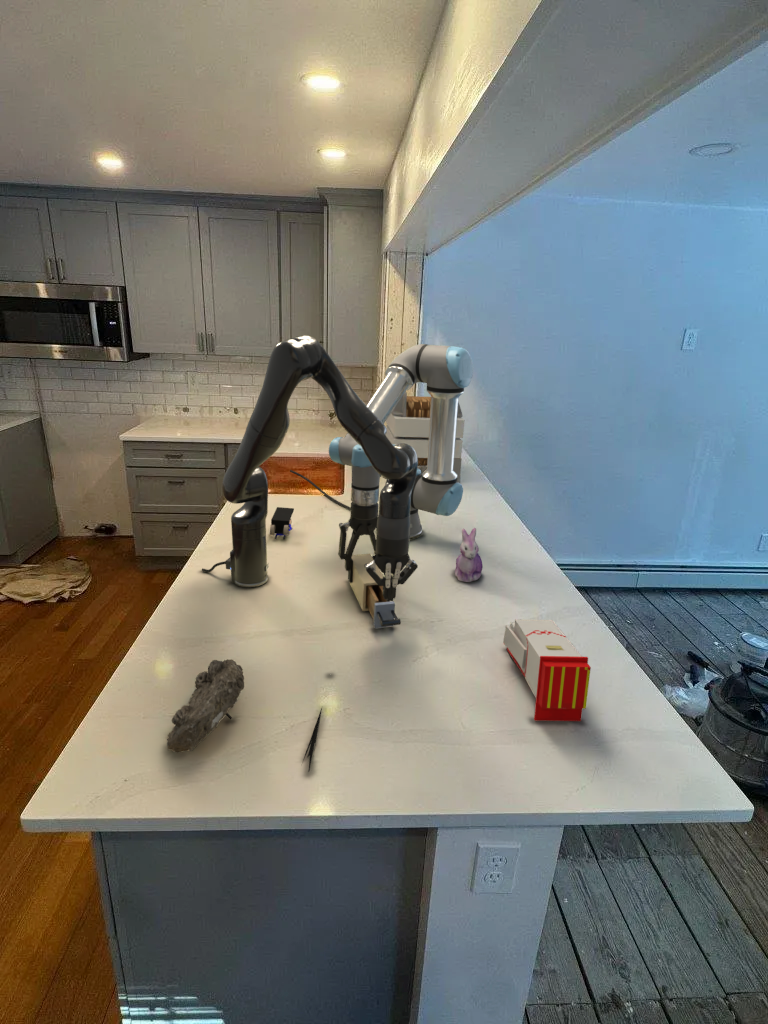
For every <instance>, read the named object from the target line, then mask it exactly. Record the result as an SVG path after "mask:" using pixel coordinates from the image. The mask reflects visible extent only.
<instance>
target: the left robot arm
mask: <svg viewBox="0 0 768 1024" xmlns="http://www.w3.org/2000/svg"><path fill="white" fill-rule="evenodd" d="M309 379H312V380H314V381H315V382H316V383H317V385H319V386H320V387H321V388H322V389H323V390H324V391H325V393H326V394H327V396H328V398H329V400H330V403H331V405H332V408H333V411H334V414H335V416H336V419H337V421H338V423H339V424H340V425H341V427H342V428H343V429H344V430H345V432H346V433H348V434H349V435H350V436H351V437H352V438H353V439H354V440H355V441H356V442H357V443H358V444H359V445H360V446H361V447H362V449H363V451H364V453H365V455H366V456H367V458H368V459H369V461H370V463H371V464H372V466H373V467H374V469H375V470H376V471H377V473H378V474H379V475H381V478H383V479H385V484H384V486H383V487H382V488H381V491H380V492H379V501H378V504H379V507H378V520H377V527H376V529H375V530H376V533H375V538H376V553H374V555H373V556H374V557H373V561H372V562H371V563H369V564H368V563H366V564H365V565H364V567H365V569H366V571H367V572H368V574H369V575H370V576H371V577H372V578H373V579H374V581H375V582H376V583H377V584H378V585H379V586H383V597H384V599H386V601H394V599H396V597H397V587H398V586H399V585H404V584H405V583H406V582H407V581H408V580H409V578H410V577H411V576H412V575H413V574H414V572H415V571H416V570H417V569H418V566H419V565H418V564H417V563H416V561H415V560H414V559H411V557H410V555H409V549H410V540H409V536H410V506H411V493H412V489H413V486H414V482H415V478H416V473H417V468H419V466H418V458H417V454H416V452H415V450H414V449H413V447H411V446H410V445H408V444H406V443H399V444H396V445H394V446H393V445H392V443H391V442H390V441H389V439H388V438H387V437H386V433H387V429H386V425H385V423H384V424H383V423H382V422H381V420H380V419H379V418H378V417H377V416H376V415H375V414H374V413H373V412H372V411H371V410H370V409H369V408H368V407H367V406H366V405H367V404H366V403H365V402H364V401H363V400H362V399H361V397H359V395H358V394H357V393H356V391H354V389H353V387H352V386H351V385H350V383H349V382H348V381H347V379H346V378H345V376H344V375H343V374H342V372H341V370H340V369H339V368H338V366H337V365H336V364H335V362H334V360H333V359H332V357H331V356H330V355H329V353H328V352H327V350H326V349H325V348H324V346H323V345H322V344H321V343H320V341H318V340H317V339H316V338H315V337H313V336H311V335H309V334H307V335H306V334H304V335H298V336H295V337H292V338H289V339H284V340H282V341H280V342H279V343H277V344H276V345H275V346H274V348H273V349H272V351H271V353H270V356H269V359H268V363H267V367H266V371H265V376H264V379H263V384H262V387H261V389H260V392H259V394H258V398H257V400H256V403H255V406H254V408H253V411H252V413H251V415H250V418H249V420H248V422H247V425H246V428H245V432H244V434H243V436H242V440H241V442H240V444H239V446H238V448H237V450H236V452H235V455H234V456H233V458H232V460H231V462H230V463H229V465H228V467H227V468H226V471H225V473H224V475H223V478H222V484H221V485H222V486H221V488H222V495H223V496H224V498H225V500H226V501H227V502H229V503H231V504H234V505H235V504H236V505H237V504H238V505H239V504H242V506H241V507H240V508H239V509H236V510H235V511H234V512H233V513H232V514H231V517H230V523H231V524H230V525H231V541H232V544H231V545H232V549H231V551H229V557H228V558H227V559H225V560H224V561H220V562H216V563H215V564H213V565H212V566H211V568H209V569H207V568H203V567H202V569H201V572H205V573H211V572H213V571H214V569H215V568H217V567H218V566H222V565H225V569H226V570H230V579H231V580H230V581H231V584H235V585H236V586H238V587H242V588H256V587H261V586H262V585H264V584H266V583H267V582H268V580H269V575H268V569H269V563H268V553H267V552H268V551H267V516H268V512H269V510H268V508H269V482H268V476H267V474H266V472H265V470H264V469H263V468H262V467H261V465H262V464H263V463H265V462H266V461H267V460H269V459H270V457H272V456H273V455H274V454H275V453H276V452H277V451H278V450H279V448H281V446H282V444H283V441H284V439H285V437H286V435H287V433H288V430H289V428H290V423H291V422H290V420H291V419H290V413H289V408H288V405H289V402H290V399H291V397H292V395H293V393H294V391H295V390H296V388H297V386H298V385H299V384H301V382H304V381H306V380H309ZM376 565H377V567H378V568H379V569H380V571H381V573H382V575H383V579H382V578H380V577H379V576H378V575H377V574H376V572H375V571H376V568H375V566H376Z"/></svg>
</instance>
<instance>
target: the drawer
mask: <svg viewBox="0 0 768 1024" xmlns="http://www.w3.org/2000/svg"><path fill="white" fill-rule="evenodd" d="M366 605H367V608H368V610H369V611H368V612H369V614H370V616H371V618H372V620H373V624H372V625H373V628H374V629H383V628H391V627H394V626H398V625H401V623H402V621H401V619H400V618H399V617H398V616H397V614H396V613H395V610H396V602H395V601H394V600H393V601H386V599H384V597H383V586H379V585H368V586H366Z"/></svg>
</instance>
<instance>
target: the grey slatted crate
mask: <svg viewBox="0 0 768 1024" xmlns="http://www.w3.org/2000/svg"><path fill="white" fill-rule="evenodd" d="M407 394H408V393H407V390H406V391H405V392H404V394H403V395H402V397H401V399H400V400H399V402H398V403H397V405H396V406H395V408H394V409H393V411H392V412H391V414H390V415H389V417H388V418H387V420H386V421H385V423H386V425H385V427H386V429H387V433H386V437H387V438H388V439H389V441H390V442H391V443H392V444H399V443H406V444H408V445H410V446H411V447H413V449H414V450H415V452H416V454H417V458H418V467H427V458H428V441H429V423H430V406H431V396H415V395H414V396H413V395H412V396H411V395H407ZM464 429H465V419H464V418H463V411H462V408H461V405H460V402H459V401H458V411H457V424H456V438H455V451H454V465H453V471H454V472H455V473H456V474H457V483H461V472H462V461H463V460H462V453H463V442H464V441H463V440H462V439H463V438H464V431H465V430H464Z"/></svg>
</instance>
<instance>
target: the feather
mask: <svg viewBox="0 0 768 1024" xmlns="http://www.w3.org/2000/svg"><path fill="white" fill-rule="evenodd" d="M329 675H330V676H331V675H332V674H331V673H330V674H329ZM322 710H323V707H321V708H320V710H319V713H318V716H317V719H316V723H315V725H314V728H313V731H312V733H311V737H310V739H309V742H308V745H307V748H306V751H305V754H304V757H303V760H302V763H301V767H302V765H303V763H304V761H305V758H308V759H309V760H308V762H307V763H308V764H307V766H308V771H310V770H311V766H312V765H311V764H312V760H313V757H315V756H314V755H315V751H316V749H315V746H317V739H318V733H319V729H320V722H321V717H322V712H323V711H322ZM313 754H314V755H313ZM306 755H307V757H306Z"/></svg>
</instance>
